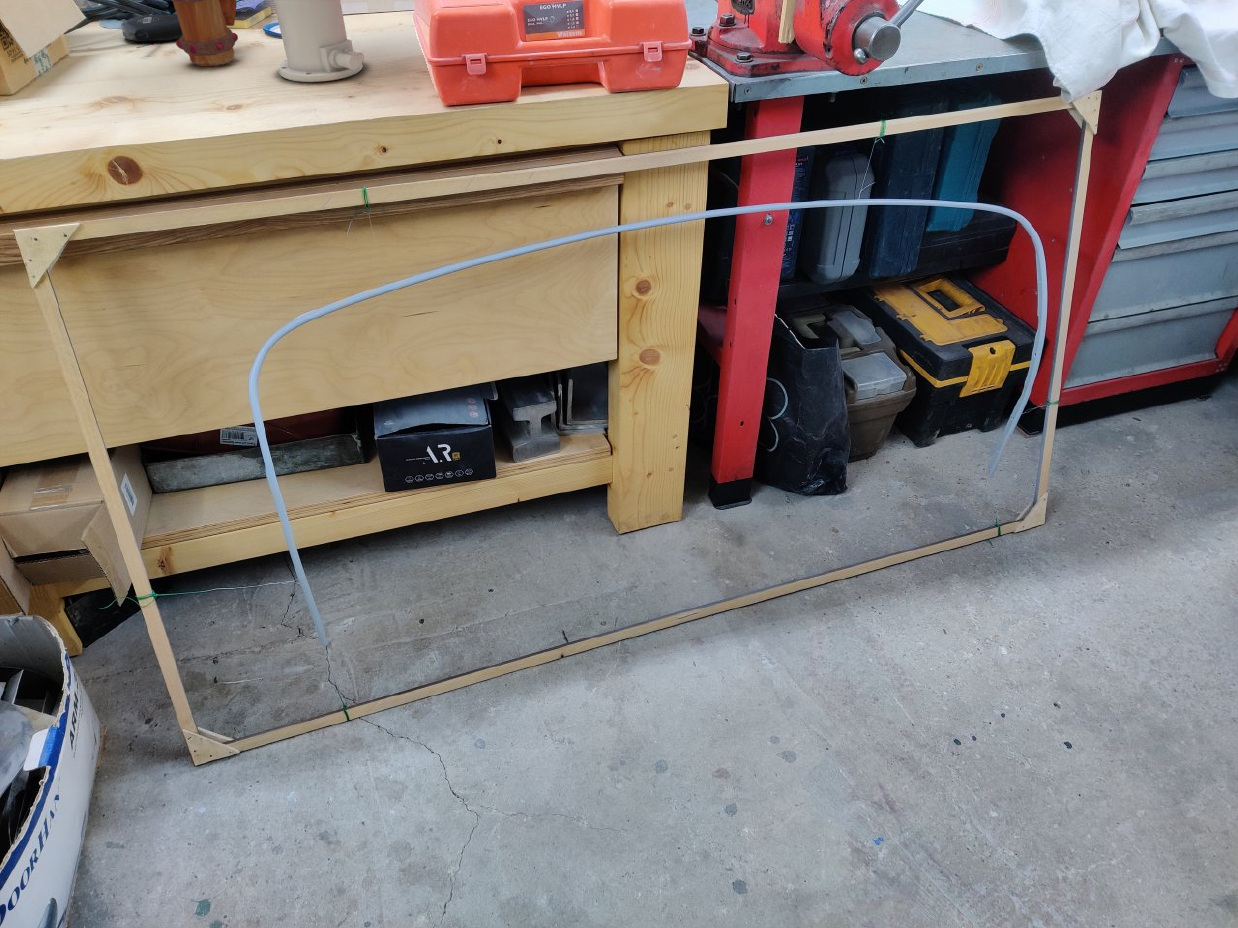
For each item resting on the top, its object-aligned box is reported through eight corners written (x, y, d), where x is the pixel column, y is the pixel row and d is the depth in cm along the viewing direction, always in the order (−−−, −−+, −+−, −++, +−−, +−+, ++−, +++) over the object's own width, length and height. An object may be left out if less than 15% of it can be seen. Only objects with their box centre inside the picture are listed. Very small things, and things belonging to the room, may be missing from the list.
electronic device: (216, 34, 160) (124, 28, 155) (212, 1, 156) (117, -5, 151) (218, 55, 154) (122, 50, 149) (213, 21, 150) (114, 15, 145)
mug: (220, 73, 137) (190, -36, 127) (173, 70, 138) (140, -39, 128) (267, 48, 148) (243, -55, 138) (223, 45, 149) (196, -56, 140)
